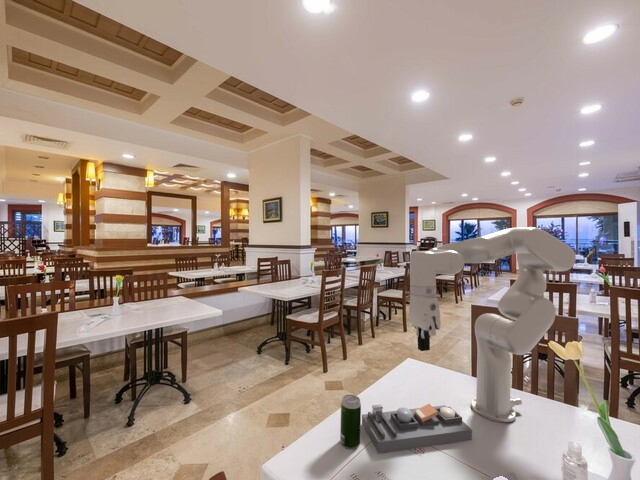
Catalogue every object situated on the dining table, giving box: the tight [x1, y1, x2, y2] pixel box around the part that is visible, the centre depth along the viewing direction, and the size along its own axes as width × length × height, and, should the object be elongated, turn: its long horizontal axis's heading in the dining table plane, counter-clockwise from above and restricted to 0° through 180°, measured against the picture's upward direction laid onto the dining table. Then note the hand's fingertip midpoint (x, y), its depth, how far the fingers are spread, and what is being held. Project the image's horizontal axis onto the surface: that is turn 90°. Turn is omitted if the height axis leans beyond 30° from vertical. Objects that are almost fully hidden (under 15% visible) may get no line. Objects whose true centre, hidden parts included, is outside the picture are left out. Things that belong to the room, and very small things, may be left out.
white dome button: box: [440, 406, 456, 418], centre depth 86 cm, size 4×4×2 cm
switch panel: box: [361, 405, 473, 455], centre depth 84 cm, size 28×12×4 cm, turn 102°
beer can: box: [339, 394, 362, 451], centre depth 79 cm, size 5×5×12 cm
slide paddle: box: [371, 404, 384, 421], centre depth 85 cm, size 3×2×4 cm
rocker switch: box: [414, 403, 438, 422], centre depth 85 cm, size 5×4×1 cm
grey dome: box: [396, 407, 412, 423], centre depth 83 cm, size 4×4×2 cm
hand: (423, 349), depth 90 cm, fingers closed
